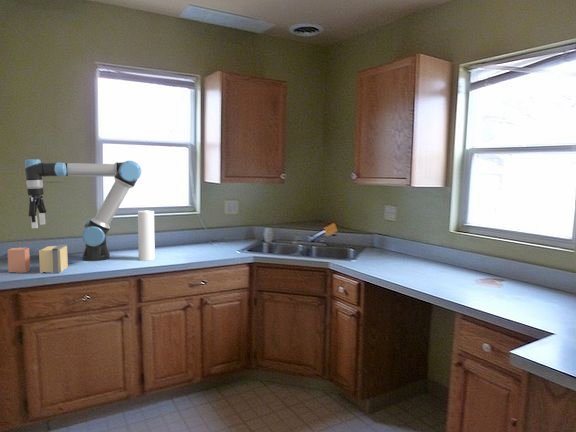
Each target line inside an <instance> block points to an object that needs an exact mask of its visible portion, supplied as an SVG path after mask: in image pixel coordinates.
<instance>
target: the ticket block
mask: <svg viewBox="0 0 576 432" xmlns="http://www.w3.org/2000/svg"><path fill="white" fill-rule="evenodd" d="M38 255H39V258H38V259H39V273H40V274H44V273H43V272H53V273H52V274H59V273H58V272H61V271H62V272H64V271H65V270H67V268H68V267H69V266H68V265H69V263H68V262H69V261H68V245H67V243H60V244H59V245H50V246H49V245H46V246H45V247H43V248H41V249H40V250H38ZM64 269H65V270H64ZM63 270H64V271H63ZM62 272H61V273H62Z"/></svg>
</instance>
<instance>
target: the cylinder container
mask: <svg viewBox="0 0 576 432" xmlns="http://www.w3.org/2000/svg"><path fill="white" fill-rule="evenodd" d="M137 236H138V237H137V242H138V244H137V246H138V247H137V248H138V261H140V262H141V261H142V262H145V261H146V262H147V261H153V260H155V259H156V258H155V257H156V255H155V254H156V249H155V248H156V247H155V238H156V237H155V210H147V209H145V210H138V211H137Z"/></svg>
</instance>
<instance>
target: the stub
mask: <svg viewBox="0 0 576 432" xmlns="http://www.w3.org/2000/svg"><path fill="white" fill-rule="evenodd" d="M6 251H7V267H8V270H7V271H8V273H9V272H16V273H27V272H28V270H29V269H30V270H31V259H30V257H31V256H30V247H11V248H9V249H7V250H6ZM30 270H29V271H30ZM26 271H27V272H26Z"/></svg>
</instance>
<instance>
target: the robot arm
mask: <svg viewBox="0 0 576 432" xmlns="http://www.w3.org/2000/svg"><path fill="white" fill-rule="evenodd" d="M24 170H25V173H24V174H25V181H26V182H25V184H26V187H27V190H26V191H27V196H31V197H29V205H28V206H29V208H28V217H30V222H31V223H30V224H31V229H38V228H39V225H40V226H43V225H46V215H45V214H46V213H47V210H46V206H45V202H44V199H43V195H44V194H45V193H44V192H45V191H44V188H43V187H44V184H43V183H44V182H43V177H58V178H59V177H109V178H110V177H112V178H113V177H114V183H113V185H112V186H111V189H110V190H109V192H108V193H107V195H106V197H105V199H104V200H103V202H102V204H101V206H100V207H99V209H98V210H97V213H96V215H95V217H93V218H90V219H89V221H88V220H87V221H85V222H84V230H82V234H81V239H82V241H83V242H84V244H85V245H84V246H85V247H84V250H83V253H82V260H83V261H90V262H91V261H103V260H107V259H110V258H111V253H110V251H109V248H108V245H107V234H108V233H109V231H110V229H111V227H110V224H111V222H112V220H113V218H114V217H115V214H116V213H117V212H118V210H119V208H120V206H121V204H122V202H123V200H124V198H125V197H126V196H127V194H128V192H129V190H130V189H132V188H134V187H135V185H136V183H137V181H138V179H140V178H141V175H142V169H141V165H140V164H138V163H137V162H136V161H133V160H125V161H122V162H121V161H120V162H115V163H83V162H82V163H81V162H80V163H79V162H75V163H73V162H71V163H70V162H67V163H66V162H42V161H41V159H35V158H34V159H33V158H32V159H25V160H24ZM37 210H38V212H39V213H38V216H39V217H38V216H37ZM38 219H39V223H38ZM38 224H39V225H38Z"/></svg>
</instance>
